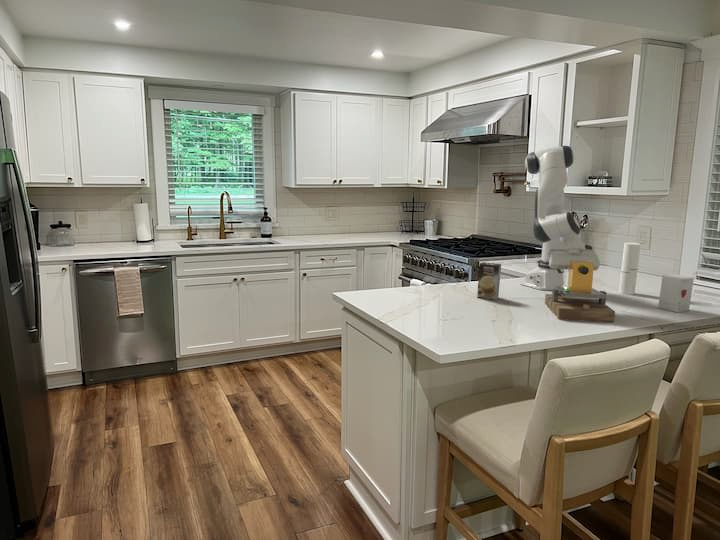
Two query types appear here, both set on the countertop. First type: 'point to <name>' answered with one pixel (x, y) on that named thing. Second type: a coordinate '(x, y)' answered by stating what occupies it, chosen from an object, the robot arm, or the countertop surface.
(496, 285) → the coffee box
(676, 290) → the supplement box
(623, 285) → the cylindrical container
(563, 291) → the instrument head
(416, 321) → the countertop surface
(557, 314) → the tribrach stand
